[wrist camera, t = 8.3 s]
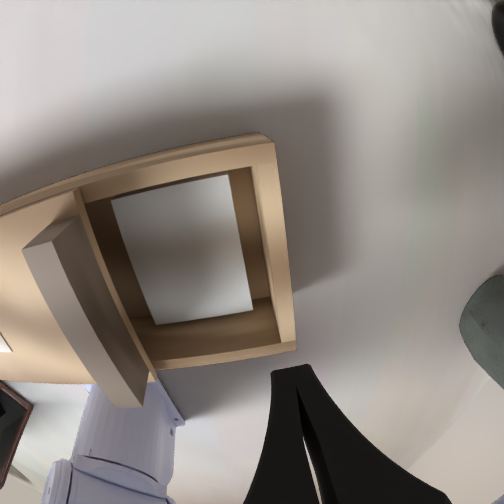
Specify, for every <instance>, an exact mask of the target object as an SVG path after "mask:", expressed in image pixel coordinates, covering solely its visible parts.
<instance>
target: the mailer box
mask: <svg viewBox="0 0 504 504" xmlns="http://www.w3.org/2000/svg"><path fill="white" fill-rule="evenodd" d="M78 187H79V190H80V193H81V196H82V200H83V203H84V206H85V209H86V212H87V215H88V218H89V221H90V224H91V227H92V230H93V233H94V236H95V238H96V241H97V244H98V247H99V249H100V252H101V255H102V257H103V260H104V262H105V265H106V267H107V270H108V272H109V275H110V277H111V280H112V282H113V284H114V287H115V289H116V291H117V294H118V296H119V298H120V301H121V303H122V305H123V307H124V309H125V312H126V314H127V316H128V318H129V320H130V322H131V324H132V326H133V329H134V331H135V333H136V335H137V337H138V339H139V341H140V343H141V345H142V347H143V348H144V350H145V352H146V354H147V356H148V358H149V360H150V362H151V364H152V365H153V367H154V369H155V370H166V369H176V368H185V367H194V366H202V365H210V364H218V363H225V362H231V361H238V360H244V359H250V358H256V357H262V356H268V355H273V354H278V353H284V352H289V351H294V350H297V346H296V333H295V322H294V310H293V299H292V289H291V278H290V268H289V259H288V249H287V240H286V231H285V222H284V214H283V205H282V197H281V189H280V181H279V173H278V166H277V158H276V151H275V144H274V142H273V141H272V140H270V139H269V138H267V137H265V136H264V135H262V134H261V133H259V132H258V133H251V134H245V135H239V136H233V137H227V138H222V139H216V140H211V141H206V142H201V143H196V144H191V145H186V146H182V147H177V148H173V149H169V150H164V151H160V152H156V153H152V154H148V155H144V156H140V157H137V158H133V159H129V160H126V161H122V162H119V163H115V164H112V165H108V166H105V167H102V168H99V169H95V170H92V171H89V172H86V173H83V174H80V175H77V176H74V177H71V178H68V179H65V180H63V181H60V182H57V183H54V184H51V185H49V186H46V187H43V188H41V189H38V190H36V191H33V192H31V193H28V194H26V195H23V196H21V197H18V198H16V199H14V200H11V201H9V202H7V203H4V204H2V205H1V206H0V216H2V215H4V214H7V213H9V212H12V211H14V210H17V209H19V208H22V207H24V206H27V205H30V204H32V203H35V202H38V201H40V200H43V199H46V198H49V197H52V196H54V195H57V194H60V193H63V192H66V191H69V190H72V189H75V188H78Z"/></svg>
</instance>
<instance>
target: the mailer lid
mask: <svg viewBox="0 0 504 504" xmlns="http://www.w3.org/2000/svg"><path fill="white" fill-rule="evenodd" d="M156 378H157V373H156V371H155V369H154V367H153V365H152V364H151V362H150V360H149V358H148V356H147V354H146V352H145V350H144V348H143V347H142V345H141V343H140V341H139V339H138V337H137V335H136V333H135V331H134V329H133V326H132V324H131V322H130V320H129V318H128V316H127V314H126V312H125V309H124V307H123V305H122V303H121V301H120V298H119V296H118V294H117V291H116V289H115V287H114V284H113V282H112V280H111V277H110V275H109V272H108V270H107V267H106V265H105V262H104V260H103V257H102V255H101V252H100V249H99V247H98V244H97V241H96V238H95V236H94V233H93V230H92V227H91V224H90V221H89V218H88V215H87V212H86V209H85V206H84V203H83V200H82V196H81V193H80V190H79V187H78V188H75V189H72V190H69V191H66V192H63V193H60V194H57V195H54V196H52V197H49V198H46V199H43V200H40V201H38V202H35V203H32V204H30V205H27V206H24V207H22V208H19V209H17V210H14V211H12V212H9V213H7V214H4V215H2V216H0V380H8V381H19V382H33V383H51V384H97V385H98V386H99V387H100V389H101V390H102V391H103V393H104V394H105V395H106V397H107V398H108V399H109V400H110V402H111V403H112V404H113V405H114V407H115V408H128V407H143V403H144V398H145V392H146V386H147V382H156Z"/></svg>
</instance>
